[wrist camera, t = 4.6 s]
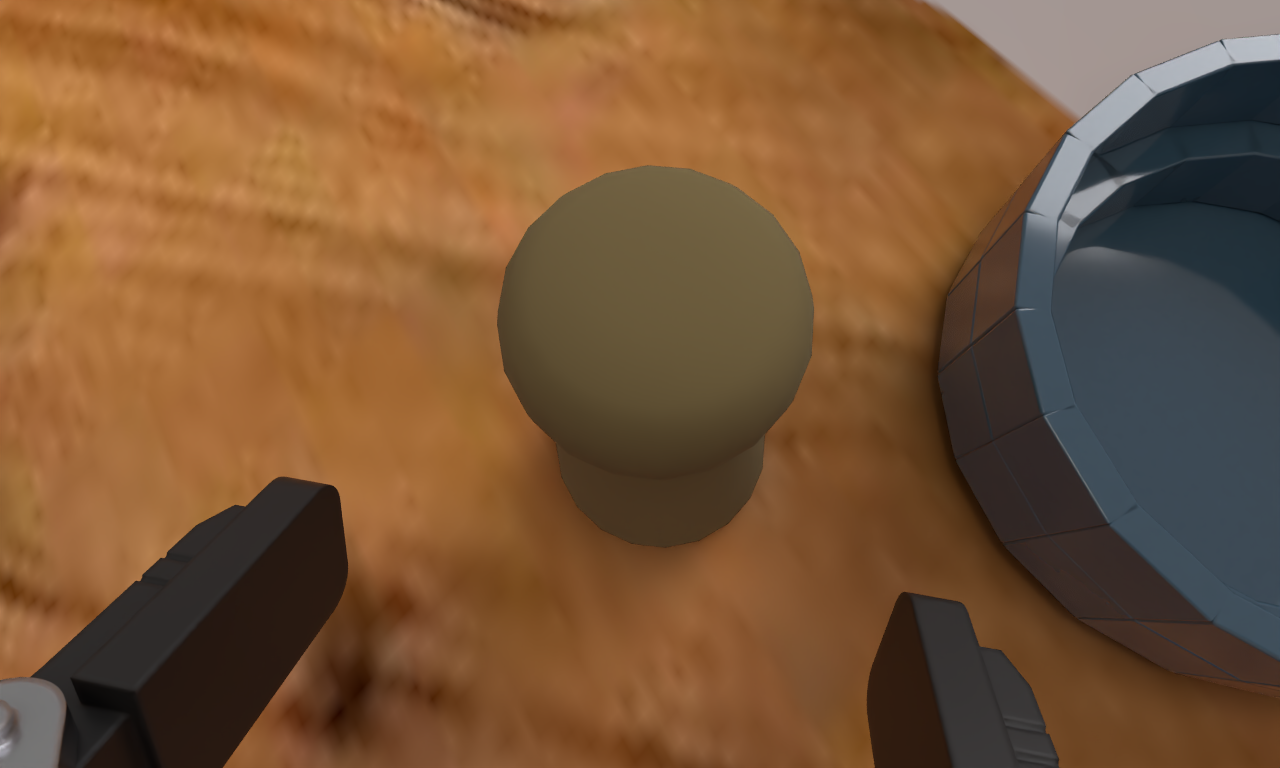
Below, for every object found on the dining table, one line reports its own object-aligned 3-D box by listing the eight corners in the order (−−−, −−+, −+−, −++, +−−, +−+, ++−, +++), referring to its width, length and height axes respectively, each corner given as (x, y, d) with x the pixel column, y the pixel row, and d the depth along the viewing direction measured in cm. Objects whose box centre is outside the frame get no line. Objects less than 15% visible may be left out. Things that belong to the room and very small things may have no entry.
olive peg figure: (803, 411, 21) (940, 220, 11) (692, 591, 20) (720, 578, 9) (631, 307, 22) (599, 41, 12) (515, 470, 21) (361, 336, 10)
